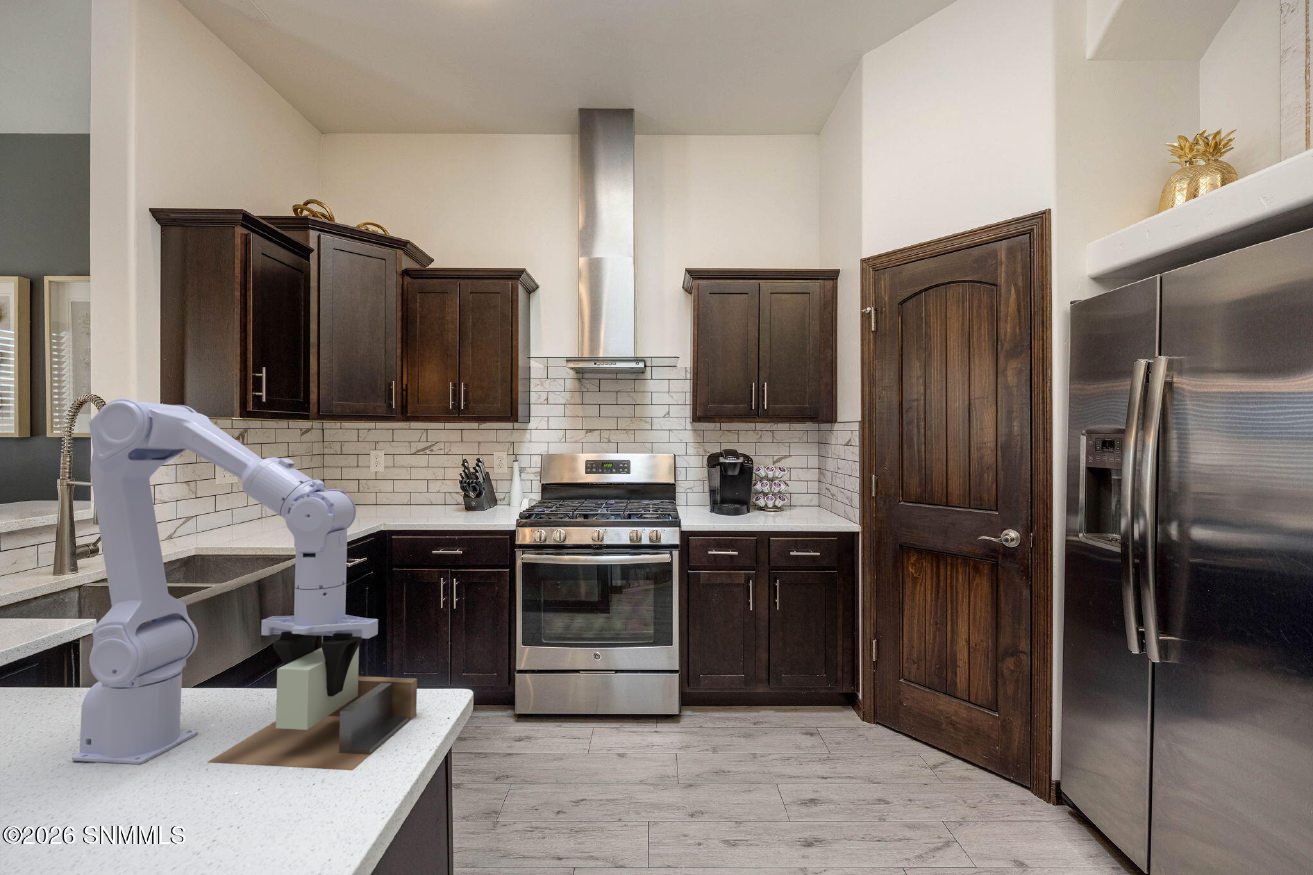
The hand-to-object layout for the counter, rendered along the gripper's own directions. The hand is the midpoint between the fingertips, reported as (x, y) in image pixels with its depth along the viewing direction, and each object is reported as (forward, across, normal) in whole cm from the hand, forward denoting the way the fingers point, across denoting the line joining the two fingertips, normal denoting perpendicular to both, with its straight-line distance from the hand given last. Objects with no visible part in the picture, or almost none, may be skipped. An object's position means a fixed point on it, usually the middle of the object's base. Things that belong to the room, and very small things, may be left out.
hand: (318, 692), depth 74 cm
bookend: (+6, +7, +2) cm, 9 cm away
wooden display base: (+7, 0, 0) cm, 7 cm away
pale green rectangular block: (+2, 0, 0) cm, 2 cm away
